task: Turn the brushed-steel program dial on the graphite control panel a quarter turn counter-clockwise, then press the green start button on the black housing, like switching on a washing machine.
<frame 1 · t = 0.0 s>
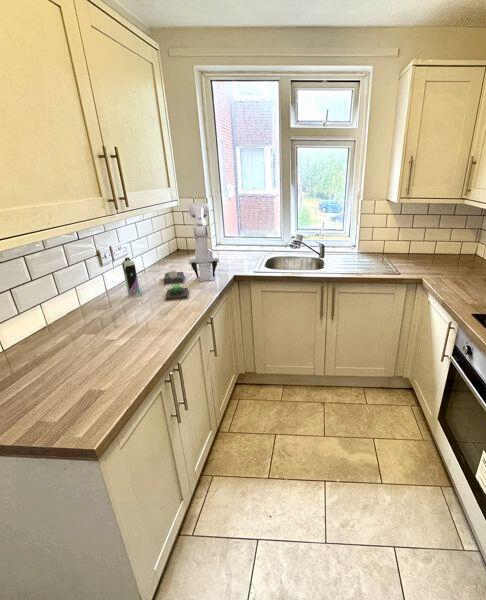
hand: (205, 276, 159), 10 cm above the worktop, tool pointing down, fingers open, 7 cm apart
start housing: (177, 295, 163), on the worktop
start button: (176, 288, 161), point 4 cm above the worktop, slide at 0.1 cm
spray can: (134, 295, 162), on the worktop
control panel: (174, 280, 185), on the worktop
dial: (173, 273, 180), point 5 cm above the worktop, hinge at 0.0°
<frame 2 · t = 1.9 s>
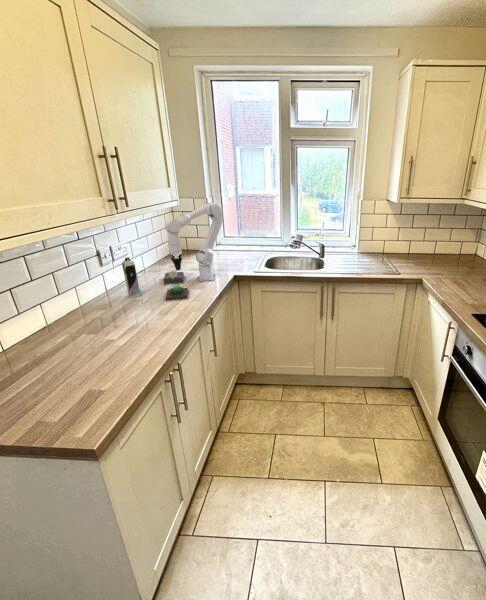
hand: (178, 268, 174), 10 cm above the worktop, tool pointing down, fingers open, 7 cm apart
nothing on the worktop moved.
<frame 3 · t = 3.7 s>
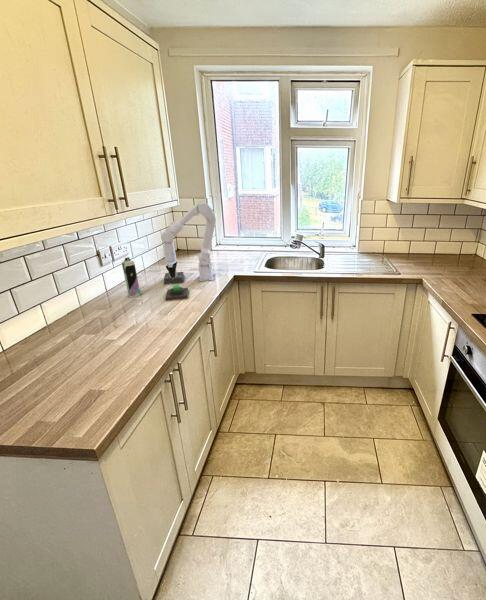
hand: (173, 276, 181), 4 cm above the worktop, tool pointing down, fingers closed on dial, 4 cm apart
dial: (173, 273, 180), point 5 cm above the worktop, hinge at -0.1°, touching gripper
everything else where it was.
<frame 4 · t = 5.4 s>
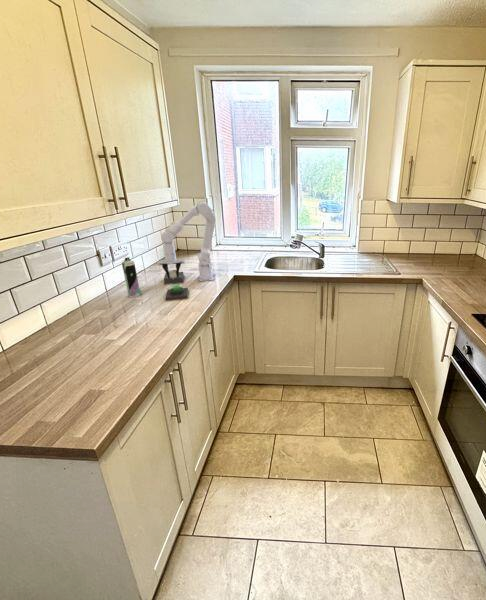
hand: (173, 276, 181), 3 cm above the worktop, tool pointing down, fingers closed on dial, 4 cm apart
dial: (173, 273, 180), point 5 cm above the worktop, hinge at 89.5°, touching gripper
everything else where it was.
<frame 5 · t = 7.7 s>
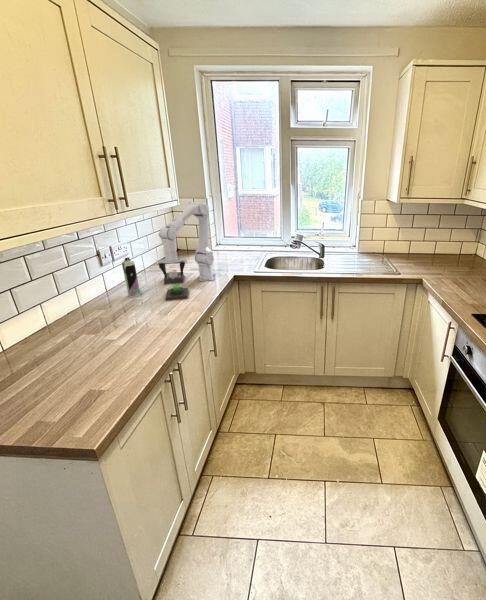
hand: (174, 277, 164), 8 cm above the worktop, tool pointing down, fingers open, 7 cm apart
dial: (173, 273, 180), point 5 cm above the worktop, hinge at 89.5°
everything else where it was.
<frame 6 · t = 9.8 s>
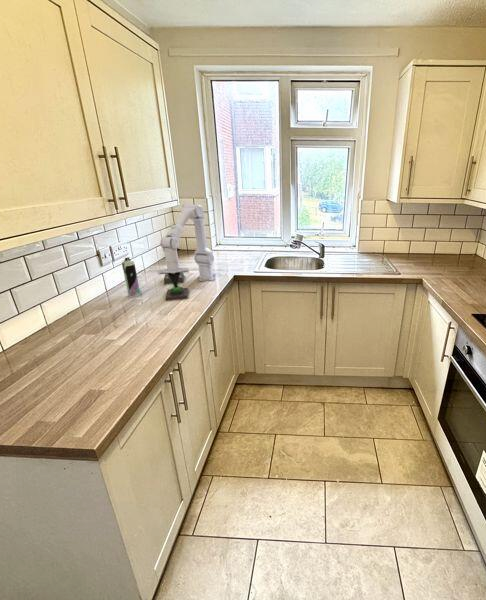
hand: (176, 286, 161), 5 cm above the worktop, tool pointing down, fingers closed, pressing on start button
start button: (176, 288, 161), point 4 cm above the worktop, slide at 0.1 cm, touching gripper
everything else where it was.
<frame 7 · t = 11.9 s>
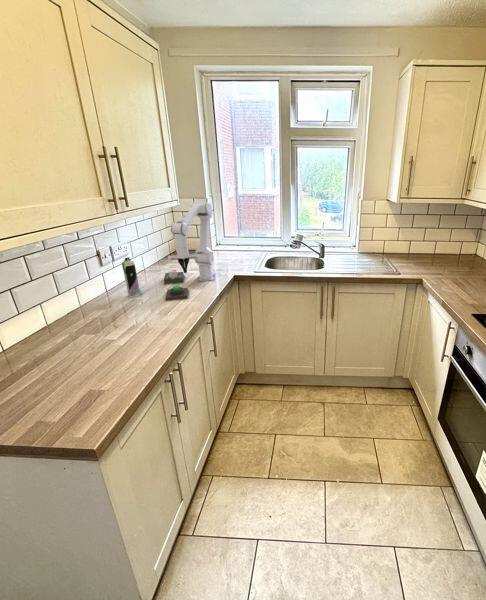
hand: (185, 272, 165), 10 cm above the worktop, tool pointing down, fingers closed
start button: (176, 288, 161), point 4 cm above the worktop, slide at 0.1 cm
everything else where it was.
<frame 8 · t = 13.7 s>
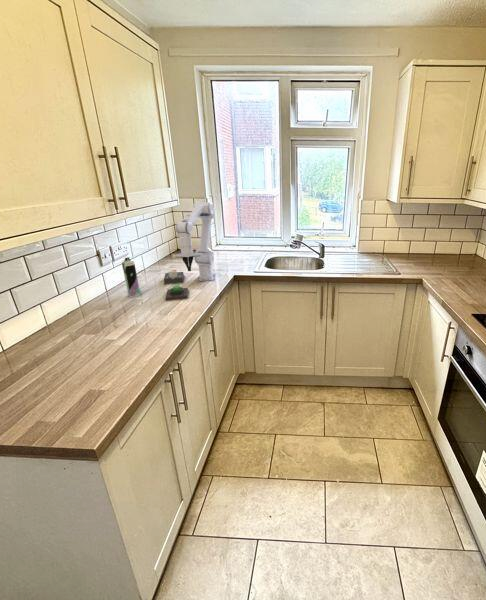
hand: (189, 270, 168), 10 cm above the worktop, tool pointing down, fingers closed
nothing on the worktop moved.
at the end: dial at +90° (first picture: +0°); start button pushed in 1.2 cm at the most during the clip, back to where it started at the end; start button slide at 0.1 cm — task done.
